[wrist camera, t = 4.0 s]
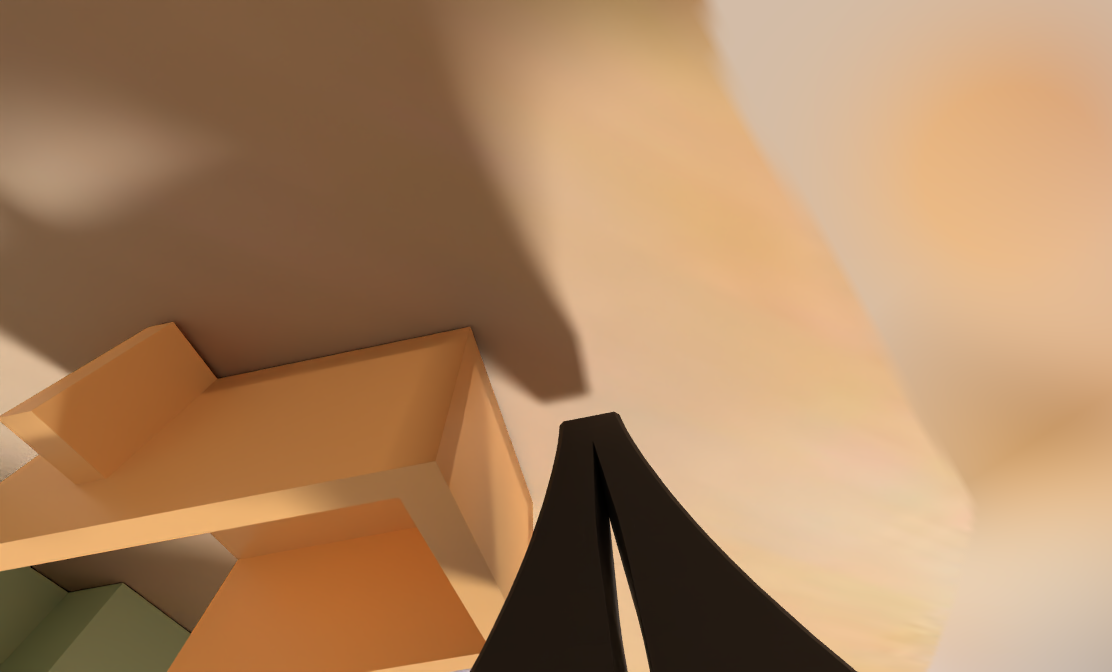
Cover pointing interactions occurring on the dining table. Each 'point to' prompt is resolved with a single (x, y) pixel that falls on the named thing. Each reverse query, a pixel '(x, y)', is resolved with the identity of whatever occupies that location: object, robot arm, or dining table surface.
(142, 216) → the dining table surface
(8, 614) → the green block with wheels
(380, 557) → the wooden drawer
